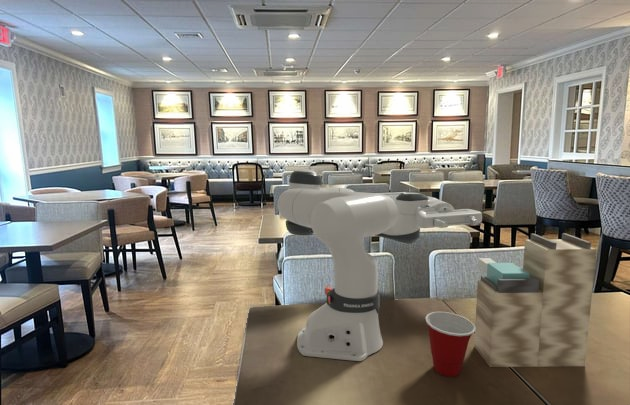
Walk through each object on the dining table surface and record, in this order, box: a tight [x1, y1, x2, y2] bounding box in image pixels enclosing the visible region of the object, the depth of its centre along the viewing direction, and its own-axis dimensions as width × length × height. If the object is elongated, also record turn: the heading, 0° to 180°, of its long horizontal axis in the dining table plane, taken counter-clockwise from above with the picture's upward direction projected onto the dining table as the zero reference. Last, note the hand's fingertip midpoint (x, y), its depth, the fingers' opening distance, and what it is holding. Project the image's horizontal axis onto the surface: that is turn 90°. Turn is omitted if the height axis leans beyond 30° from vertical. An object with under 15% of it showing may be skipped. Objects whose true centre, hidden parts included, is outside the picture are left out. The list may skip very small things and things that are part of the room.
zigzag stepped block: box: [473, 232, 597, 368], centre depth 92 cm, size 22×9×30 cm, turn 90°
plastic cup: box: [425, 311, 476, 378], centre depth 88 cm, size 11×11×12 cm
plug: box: [477, 257, 529, 285], centre depth 97 cm, size 6×17×4 cm, turn 0°
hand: (460, 223), depth 119 cm, fingers open, 8 cm apart
